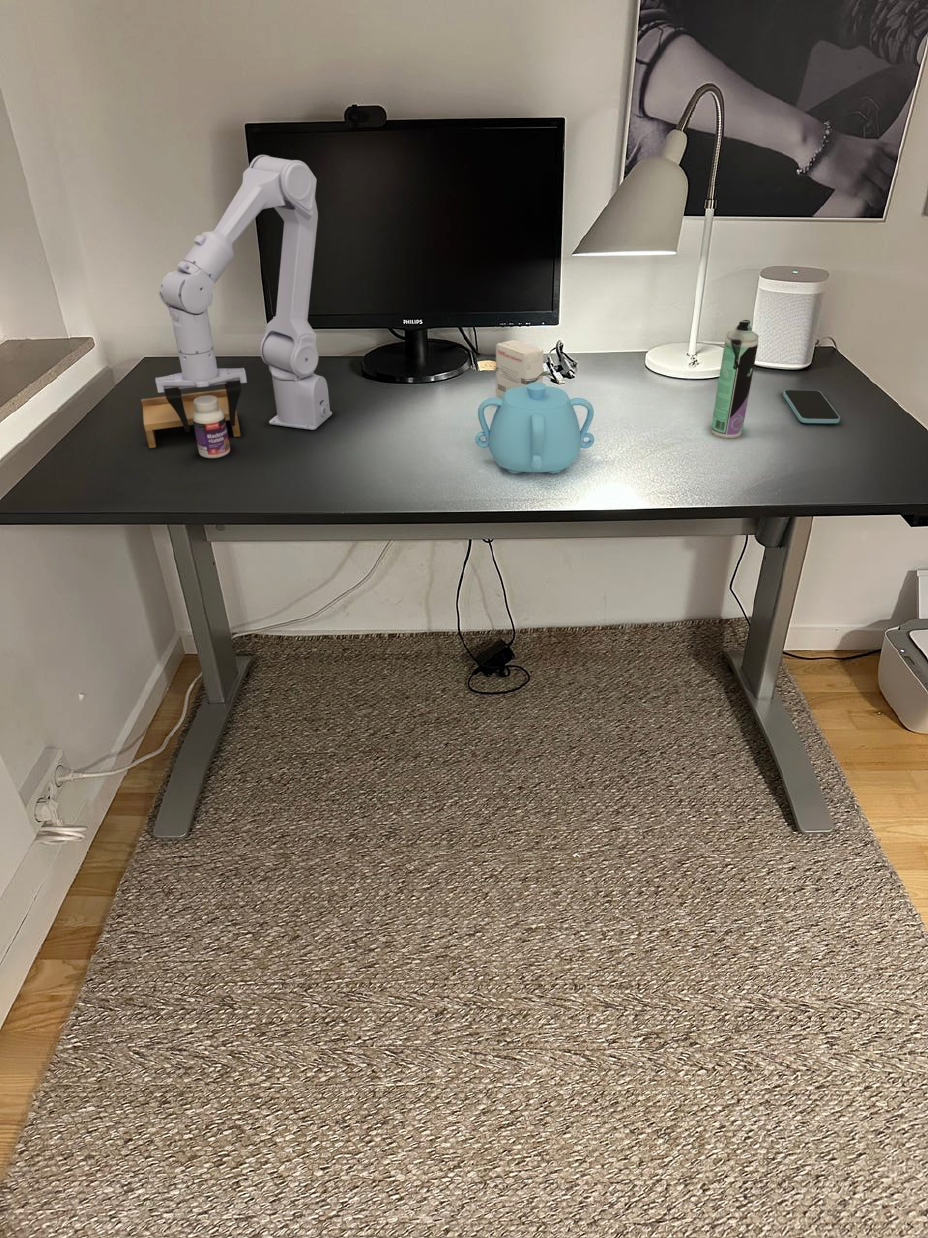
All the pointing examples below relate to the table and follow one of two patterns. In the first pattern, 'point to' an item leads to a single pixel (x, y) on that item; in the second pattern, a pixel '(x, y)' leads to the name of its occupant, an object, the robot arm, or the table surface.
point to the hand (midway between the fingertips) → (210, 426)
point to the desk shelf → (164, 415)
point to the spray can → (734, 381)
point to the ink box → (517, 366)
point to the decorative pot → (535, 429)
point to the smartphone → (811, 406)
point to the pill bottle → (210, 427)
